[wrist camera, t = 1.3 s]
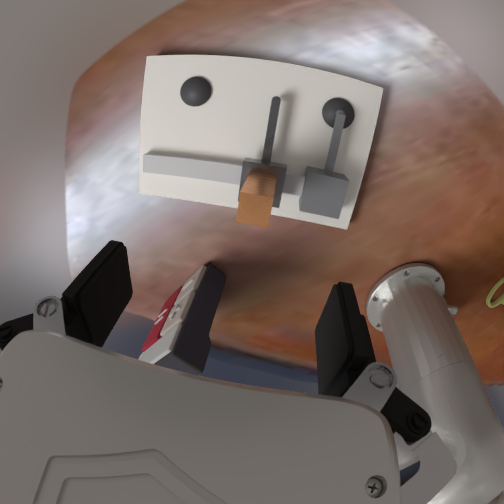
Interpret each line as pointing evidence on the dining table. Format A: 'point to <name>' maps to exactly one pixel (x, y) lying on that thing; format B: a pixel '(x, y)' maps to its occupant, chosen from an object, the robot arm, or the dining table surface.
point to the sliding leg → (261, 179)
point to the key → (501, 299)
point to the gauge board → (255, 132)
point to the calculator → (186, 324)
